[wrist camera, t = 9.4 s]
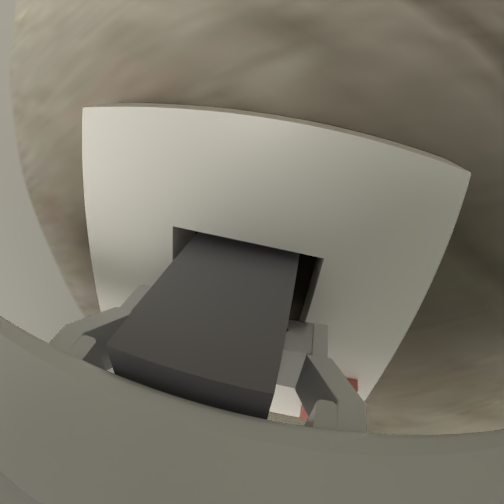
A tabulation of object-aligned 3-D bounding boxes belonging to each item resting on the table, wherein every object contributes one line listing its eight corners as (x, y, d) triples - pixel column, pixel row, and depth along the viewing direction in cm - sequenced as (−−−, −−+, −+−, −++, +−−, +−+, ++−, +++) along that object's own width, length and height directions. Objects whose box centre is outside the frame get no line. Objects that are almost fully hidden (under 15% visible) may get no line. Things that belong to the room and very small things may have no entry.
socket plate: (445, 158, 10) (480, 178, 7) (347, 390, 17) (347, 434, 14) (118, 103, 12) (70, 109, 9) (131, 336, 18) (107, 370, 16)
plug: (301, 244, 12) (274, 394, 6) (284, 321, 14) (253, 461, 8) (202, 226, 12) (105, 344, 6) (201, 303, 14) (134, 424, 8)
